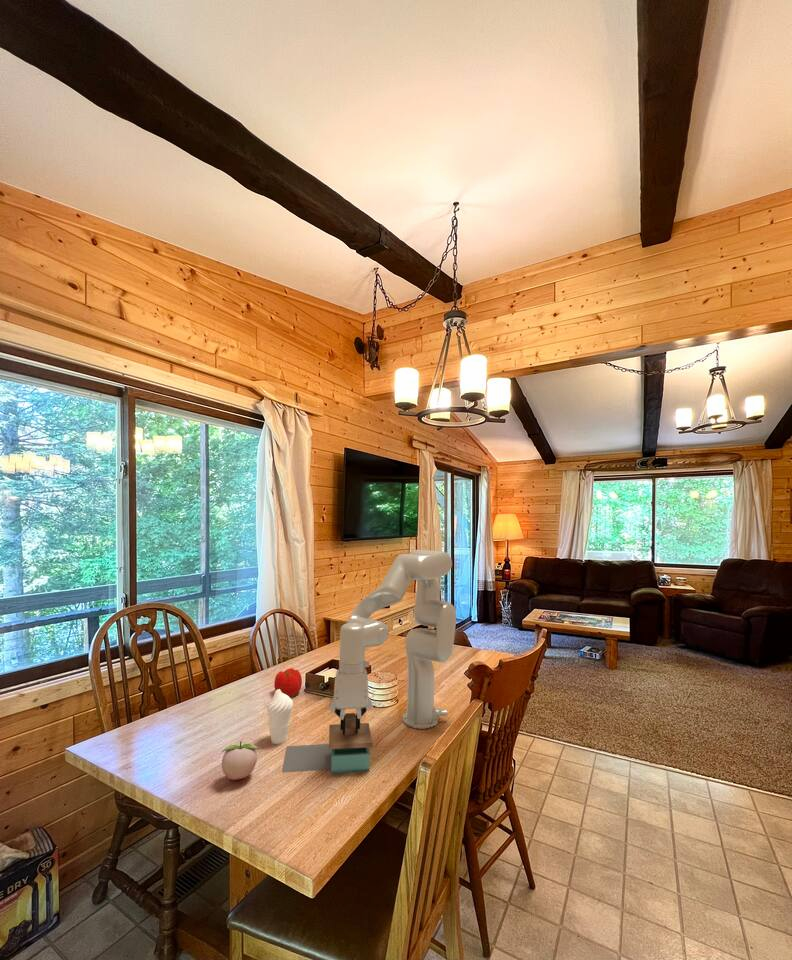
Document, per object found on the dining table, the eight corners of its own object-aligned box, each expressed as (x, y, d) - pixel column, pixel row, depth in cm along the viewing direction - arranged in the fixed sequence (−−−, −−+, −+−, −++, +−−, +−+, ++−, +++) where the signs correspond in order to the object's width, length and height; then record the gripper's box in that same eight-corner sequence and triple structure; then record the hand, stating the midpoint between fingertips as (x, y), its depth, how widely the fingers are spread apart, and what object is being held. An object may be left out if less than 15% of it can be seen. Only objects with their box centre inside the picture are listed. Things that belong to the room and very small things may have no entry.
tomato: (287, 686, 183) (288, 664, 184) (307, 693, 176) (308, 670, 177) (267, 694, 175) (268, 671, 176) (286, 702, 168) (287, 678, 169)
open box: (366, 752, 133) (366, 735, 133) (369, 772, 122) (369, 754, 123) (331, 754, 131) (331, 737, 132) (331, 775, 121) (331, 756, 121)
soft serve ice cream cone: (296, 737, 141) (298, 686, 142) (282, 750, 133) (284, 696, 134) (274, 733, 144) (276, 683, 145) (259, 745, 136) (261, 692, 137)
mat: (332, 745, 137) (332, 743, 137) (332, 770, 123) (332, 768, 123) (286, 747, 135) (286, 746, 135) (281, 773, 121) (281, 772, 121)
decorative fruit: (220, 793, 112) (222, 753, 113) (219, 776, 119) (221, 738, 120) (258, 785, 116) (260, 746, 116) (255, 769, 123) (257, 732, 124)
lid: (368, 727, 134) (369, 706, 134) (372, 747, 122) (372, 724, 123) (329, 728, 132) (330, 707, 133) (329, 749, 120) (329, 725, 121)
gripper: (377, 662, 134) (376, 724, 132) (324, 663, 132) (322, 727, 130) (380, 670, 127) (379, 736, 125) (323, 672, 124) (321, 739, 123)
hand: (350, 731), depth 127 cm, fingers closed on lid, 3 cm apart
